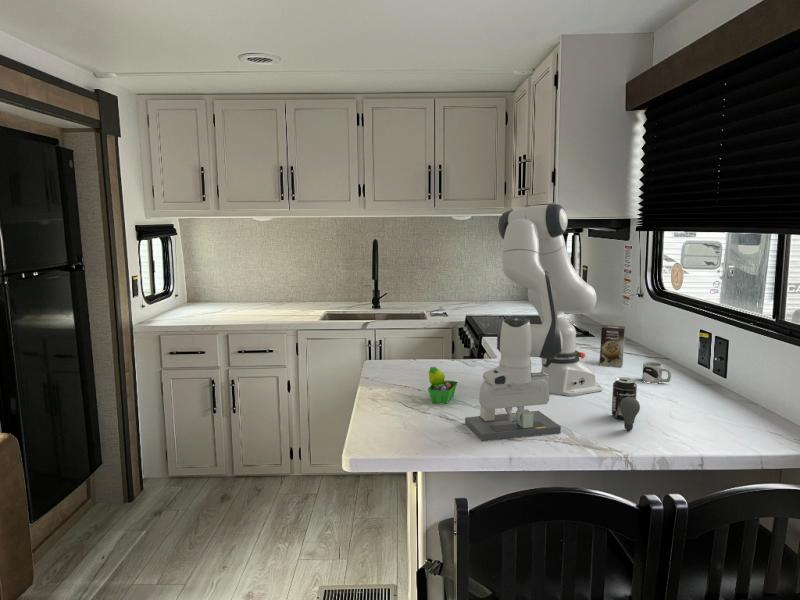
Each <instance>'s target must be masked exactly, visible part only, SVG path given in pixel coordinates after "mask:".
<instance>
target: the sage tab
mask: <svg viewBox="0 0 800 600" xmlns="http://www.w3.org/2000/svg"><path fill="white" fill-rule="evenodd" d="M530 411H531V410H529V409H528V408H526V409H525V408H524V410H523V412H522V414H521V415H520V421H517V423H518V424H519V425H520V426H521V427H522V428H530V427H533V413H532V412H530Z"/></svg>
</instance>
